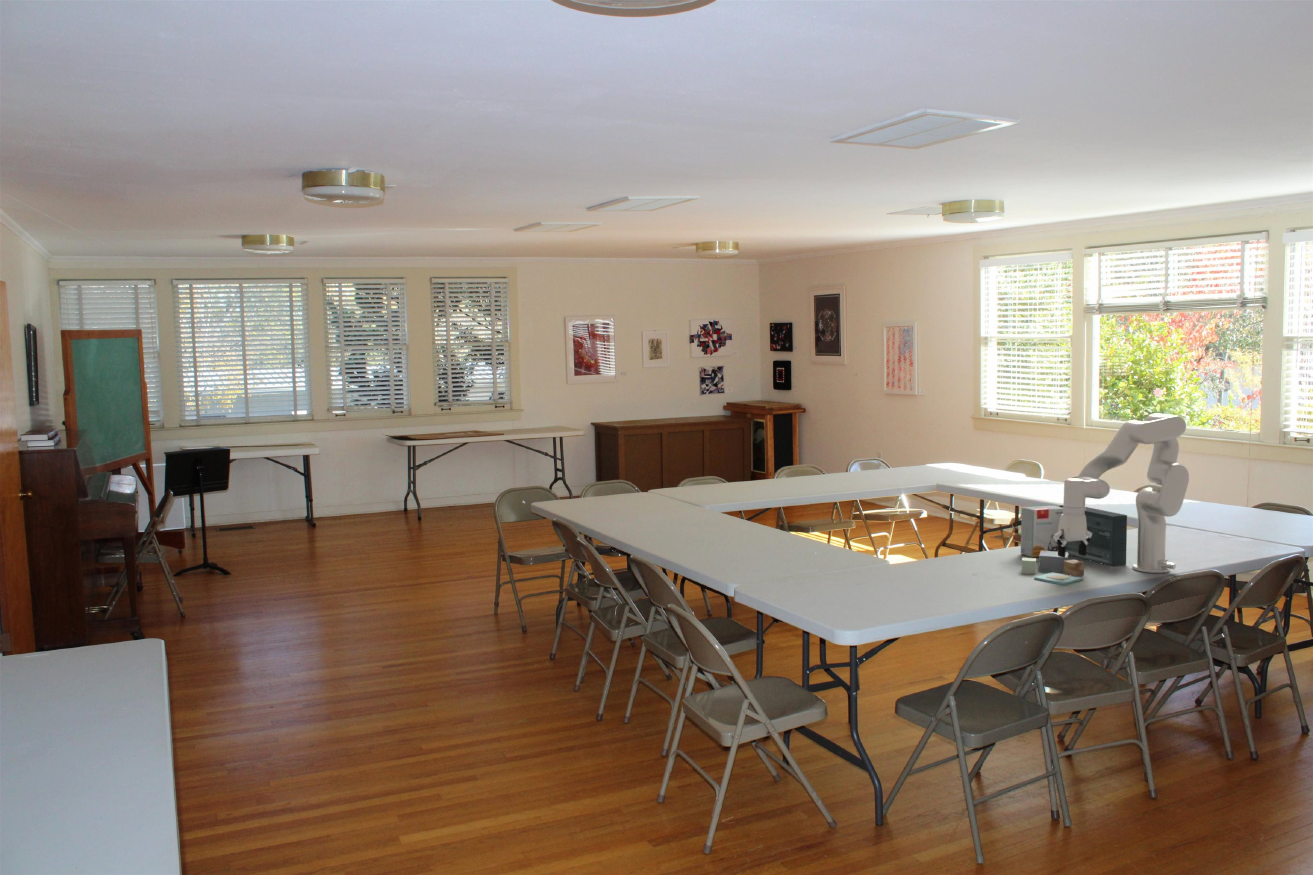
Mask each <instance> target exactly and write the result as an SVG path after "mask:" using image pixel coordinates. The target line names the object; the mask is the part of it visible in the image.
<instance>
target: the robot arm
mask: <svg viewBox="0 0 1313 875" xmlns="http://www.w3.org/2000/svg"><path fill="white" fill-rule="evenodd" d="M1186 429H1187V422H1186V421H1185V419H1184V418H1183V417H1181V416H1180V415H1177V414H1166V413H1152V414H1148V415H1147V417H1146V418H1145V419H1144V420H1142V421H1141V420H1128V421H1125V422H1124V423H1123V424H1122V425H1121V426H1120V428H1119V429H1118V431H1117V432H1116V434H1115V435H1114V437H1113V438H1112V439H1111V441H1110V442H1109V444H1108V446H1107V447H1106V448H1105V450H1104V451H1103V452H1101V453H1100V454H1098V455H1096V456H1095V457H1094V458H1093V459H1092V460H1090V461H1089V462H1088V463H1087V464H1086V465H1085V466H1084V467H1083V468H1082V470H1080V472H1079V474H1078V476H1077V478H1074V477H1071V478H1069V477H1068V478H1065V479H1064V480H1065V481H1064V485H1063V514H1061V517H1060V521H1059V527H1058V532H1057V533H1056V534H1054V535H1053V537H1054V540H1055V542H1056V544H1057V545H1058V556H1060V557H1065V552H1066V547H1064V546H1065V544H1066V543H1067V542H1072V541H1079V542H1080V543H1081V544H1079V552H1078V554H1080V555H1083V556H1086V545H1088V542H1089V541H1090V538H1091V536H1092V533H1091V532H1089V531H1088V530H1087V522H1086V515H1085V511H1086V508H1085V507H1086V499H1093V500H1094V499H1095V500H1101V499H1104V498H1106V497H1107V496H1108V495H1109V494H1110V492H1111V491H1110V490H1111V488H1110V485H1109V483H1108V482H1106V481H1105V480H1103V479H1102V478H1101V479H1100V477H1101V476H1102V475H1103V474H1105V473H1106V472H1108V471H1110V470H1112V469H1114V468H1117V467H1121V466H1122V465H1125V464H1126V463H1127V462H1128V460H1129V459H1130V458H1131V456H1132V454H1133V453H1134V452H1135V450H1136V449H1137V448H1138V446H1139V445H1152V444H1153V449H1152V454H1151V457H1150V460H1149V461H1150V462H1149V465H1148V468H1147V472H1146V478H1147V480H1148V481H1149V482H1150V483H1151V484H1153V485H1156V486H1161V487H1160V488H1156V487H1143V488H1142V489H1141V490H1139V491H1138V492H1137V494H1136V496H1135V508H1136V513H1137V547H1136V548H1137V550H1136V552H1137V554H1136V563H1134V564H1133V565H1132V569H1134V570H1135V571H1139V572H1142V573H1149V574H1164V573H1168V572H1170V569H1171V570H1175V569H1176V566H1177V565H1176V564H1175V563H1173V562H1169V559H1168V558H1166V546H1167V545H1166V543H1167V542H1166V539H1167V538H1166V537H1167V522H1166V518H1169V517H1170V518H1171V517H1173V516H1176V515H1178V513H1179V512H1180V510H1181V508H1182V506H1183V503H1184V499H1185V496H1186V493H1187V489H1188V485H1189V481H1190V474H1189V471H1188V469H1187V467H1185V465H1183V464H1181V463H1178V462H1177V461H1178V456H1179V451H1180V445H1179V441H1178V440H1179V439H1177V438H1179V437H1181V436H1183V434H1184V433H1185V432H1186ZM1059 539H1060V540H1059ZM1062 541H1063V542H1062Z"/></svg>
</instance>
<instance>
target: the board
mask: <svg viewBox="0 0 1313 875" xmlns="http://www.w3.org/2000/svg"><path fill="white" fill-rule="evenodd" d="M1033 578H1034V580H1035V579H1036V580H1035V581H1040V580H1042V581H1041V582H1046V583H1052V584H1055V583H1056V585H1060V586H1067V585H1071V584H1074V583H1077V582H1080V581H1083V577H1081V576H1070V575H1067V574H1064V573H1060V572H1055V571H1050V572H1048V573H1045V574H1041V575H1037V576H1034V577H1033Z"/></svg>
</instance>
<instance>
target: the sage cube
mask: <svg viewBox="0 0 1313 875" xmlns="http://www.w3.org/2000/svg"><path fill="white" fill-rule="evenodd" d="M1030 573H1034V575H1036V574H1037V557H1022V558H1021V574H1030Z"/></svg>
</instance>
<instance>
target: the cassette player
mask: <svg viewBox="0 0 1313 875" xmlns="http://www.w3.org/2000/svg"><path fill="white" fill-rule="evenodd" d="M1058 507H1061V508H1063V505H1062V504H1061V505H1060V504H1059V506H1058ZM1085 508H1086V511H1085V515H1086V522H1087V530H1088V531H1089V532H1091V533H1092V536H1091V538H1090V541H1089V542H1088V545H1086V556H1083V555H1080V554H1078V552H1079V544H1081V543H1080V542H1079V541H1072V542H1067V543H1066V544H1065V546H1064V547H1066V552H1068V554H1069V555H1068V556H1071V555H1072V556H1071V557H1076V558H1078V557H1079V559H1082V560H1086V561H1089V560H1091V561H1090V562H1094V563H1097V564H1100V563H1102V564H1101V565H1104V564H1105V566H1109V567H1111V566H1113V567H1119V566H1120V567H1122V566H1126V565H1127V538H1128V537H1127V533H1128V531H1127V530H1128V515H1127V514H1123V513H1118V512H1114V511H1108V510H1102V509H1098V508H1094V507H1087V506H1085Z"/></svg>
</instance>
